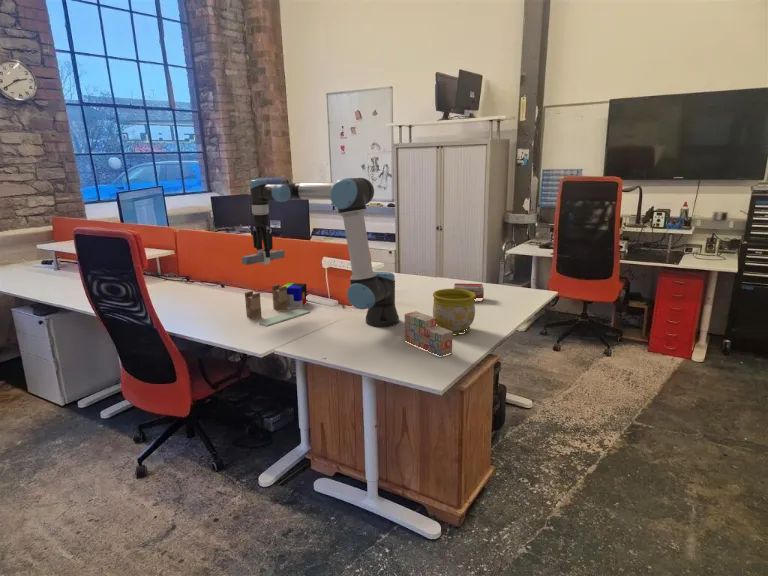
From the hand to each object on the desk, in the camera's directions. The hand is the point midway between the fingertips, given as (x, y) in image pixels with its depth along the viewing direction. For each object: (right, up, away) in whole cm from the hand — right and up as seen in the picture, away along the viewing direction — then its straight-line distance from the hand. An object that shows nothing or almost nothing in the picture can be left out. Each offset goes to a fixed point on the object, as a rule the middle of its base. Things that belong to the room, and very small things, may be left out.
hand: (264, 263), depth 234 cm
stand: (0, -24, +6) cm, 24 cm away
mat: (+10, -25, -1) cm, 27 cm away
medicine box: (+101, -18, +26) cm, 106 cm away
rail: (0, +1, 0) cm, 1 cm away
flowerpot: (+86, -30, -22) cm, 94 cm away
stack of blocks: (+74, -35, -41) cm, 91 cm away
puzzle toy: (+11, -20, +20) cm, 31 cm away
